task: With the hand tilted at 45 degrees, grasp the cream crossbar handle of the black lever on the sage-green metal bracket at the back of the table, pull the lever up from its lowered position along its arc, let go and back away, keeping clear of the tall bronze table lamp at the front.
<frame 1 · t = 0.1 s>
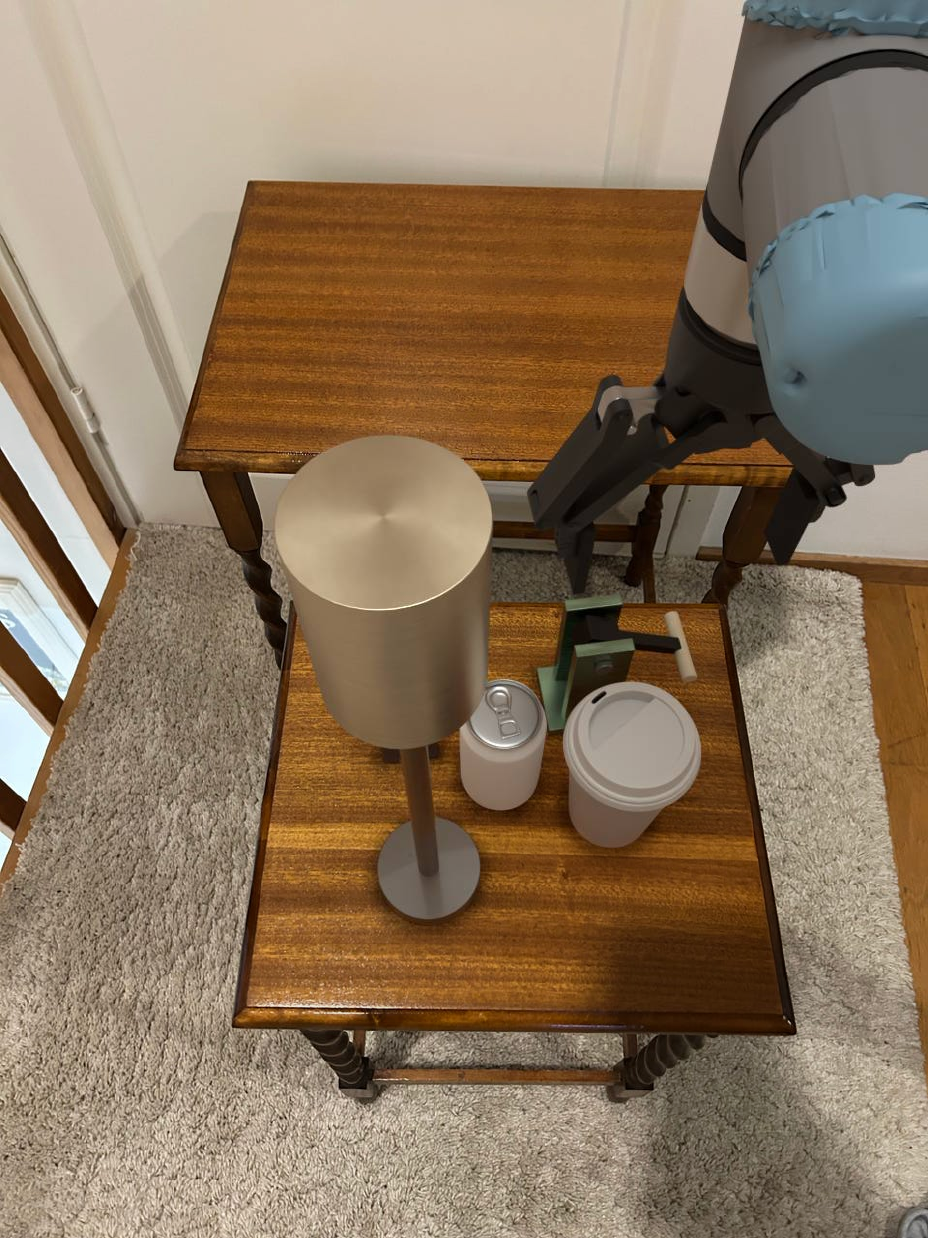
hand: (675, 562, 61), 23 cm above the table, tool pointing down, fingers open, 13 cm apart
coffee cup: (608, 809, 76), on the table
bracket: (581, 699, 81), on the table
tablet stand: (408, 719, 81), on the table
lever: (634, 641, 73), point 9 cm above the table, hinge at -25.0°
can: (499, 776, 78), on the table
lamp: (429, 873, 73), on the table
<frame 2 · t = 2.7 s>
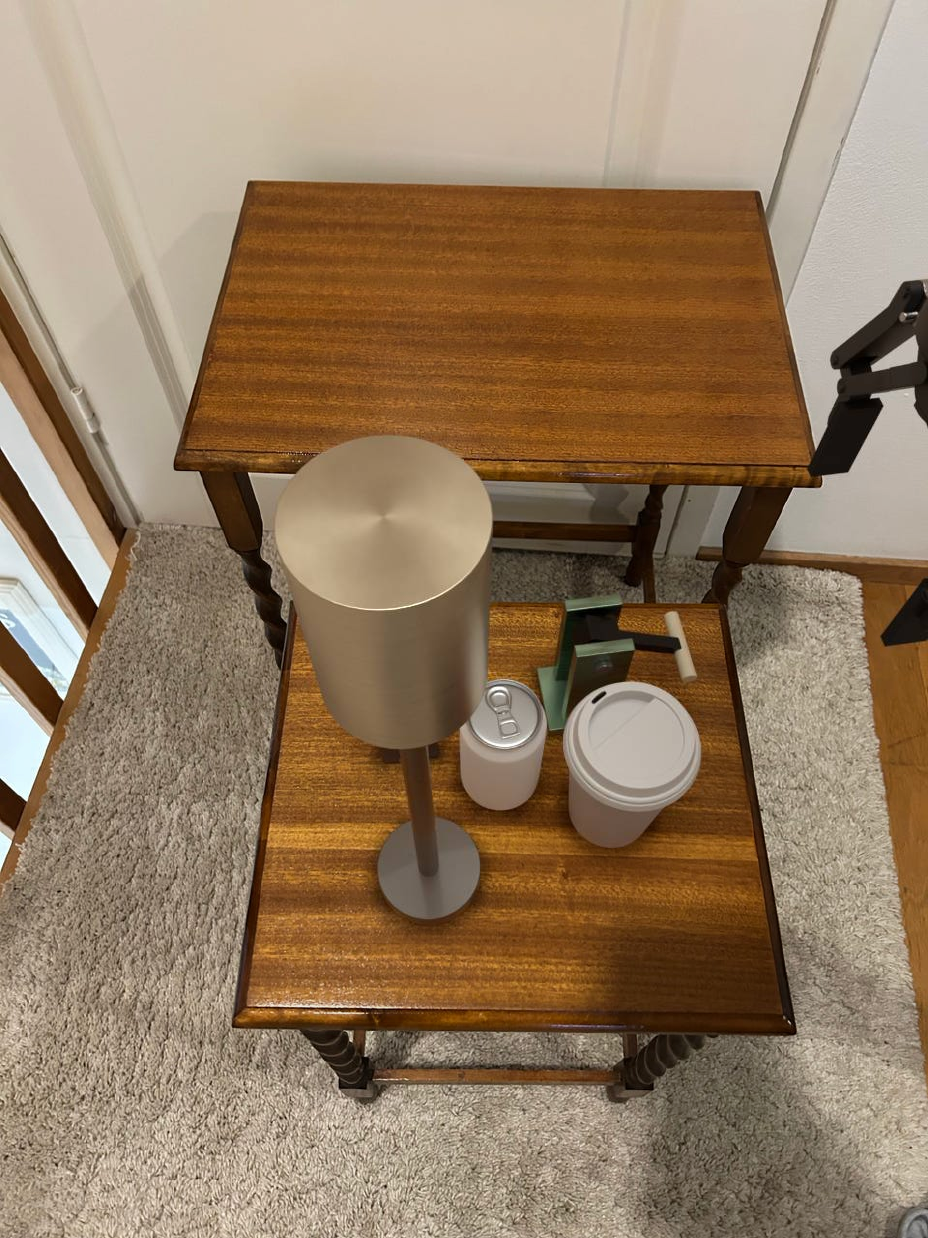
hand: (863, 550, 61), 23 cm above the table, tool pointing down, fingers open, 13 cm apart
nothing on the table moved.
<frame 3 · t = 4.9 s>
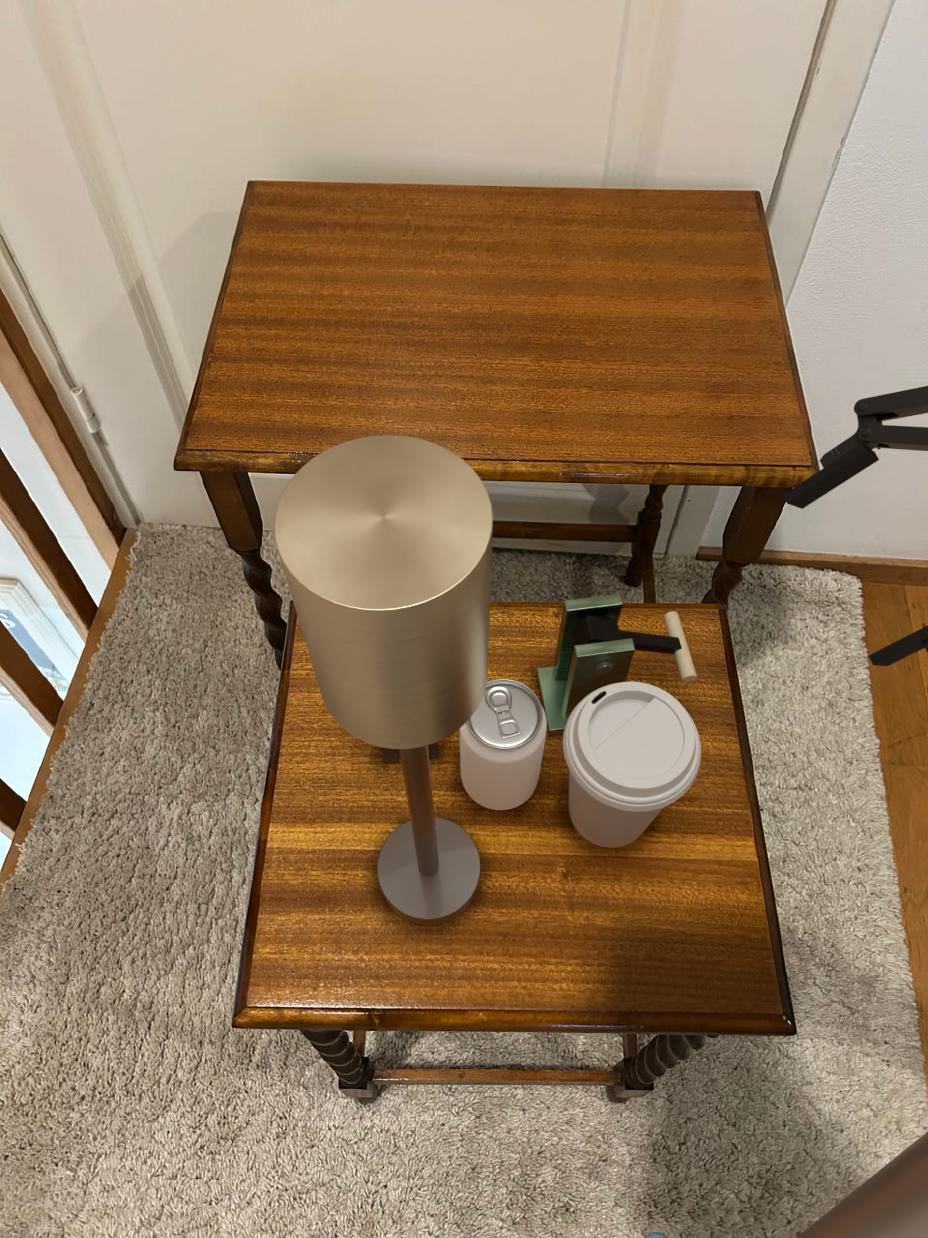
hand: (832, 579, 69), 16 cm above the table, tool tilted 40°, fingers open, 13 cm apart
nothing on the table moved.
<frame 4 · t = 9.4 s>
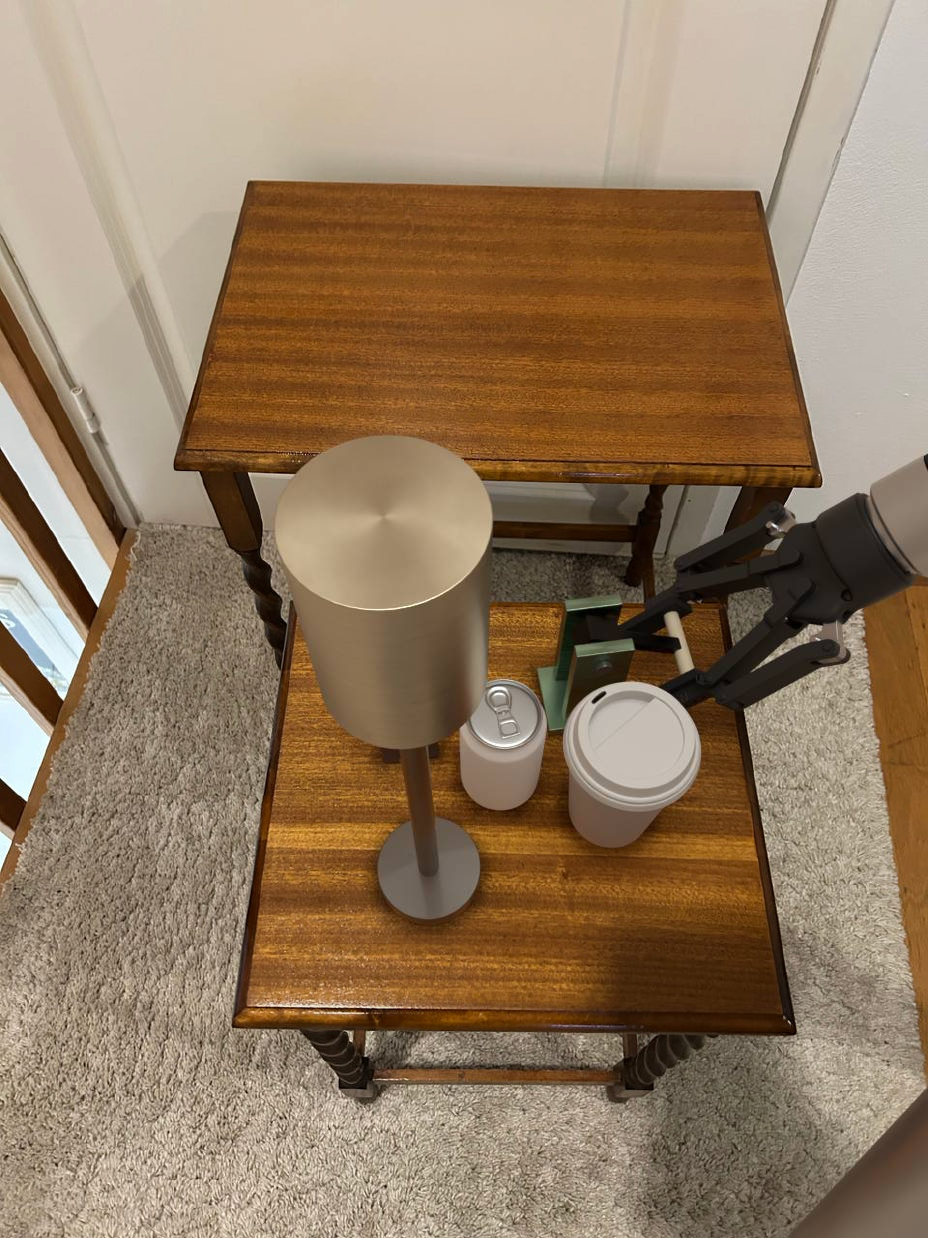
hand: (629, 673, 78), 4 cm above the table, tool tilted 45°, fingers closed on lever, 6 cm apart
lever: (634, 641, 73), point 9 cm above the table, hinge at -25.0°, touching gripper
everything else where it was.
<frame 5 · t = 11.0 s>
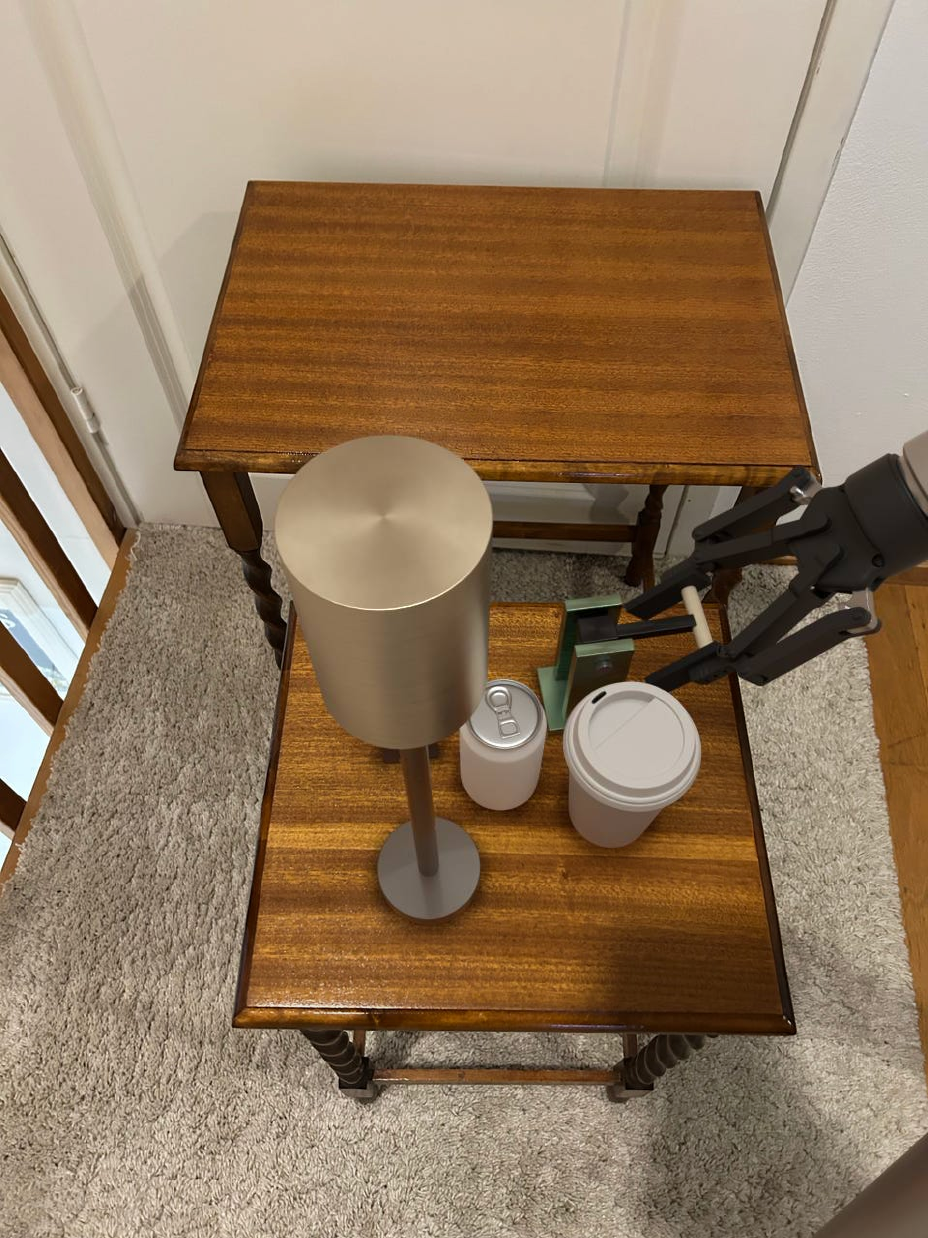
hand: (645, 648, 75), 8 cm above the table, tool tilted 45°, fingers closed on lever, 6 cm apart
lever: (642, 630, 72), point 11 cm above the table, hinge at 1.8°, touching gripper
everything else where it was.
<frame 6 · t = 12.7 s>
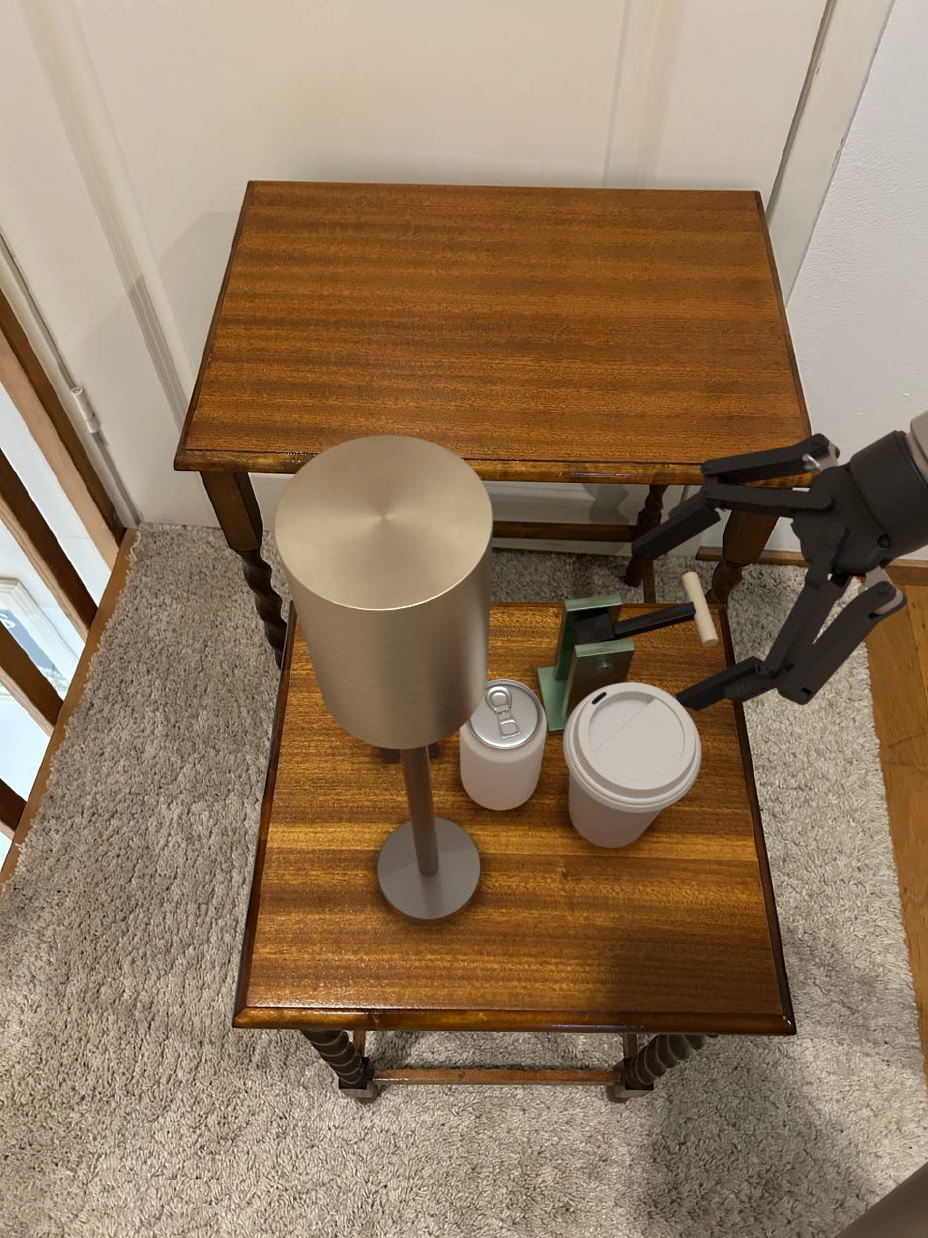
hand: (662, 624, 72), 12 cm above the table, tool tilted 45°, fingers open, 13 cm apart
coffee cup: (608, 809, 76), on the table, touching gripper
lever: (642, 624, 71), point 12 cm above the table, hinge at 16.6°
everything else where it was.
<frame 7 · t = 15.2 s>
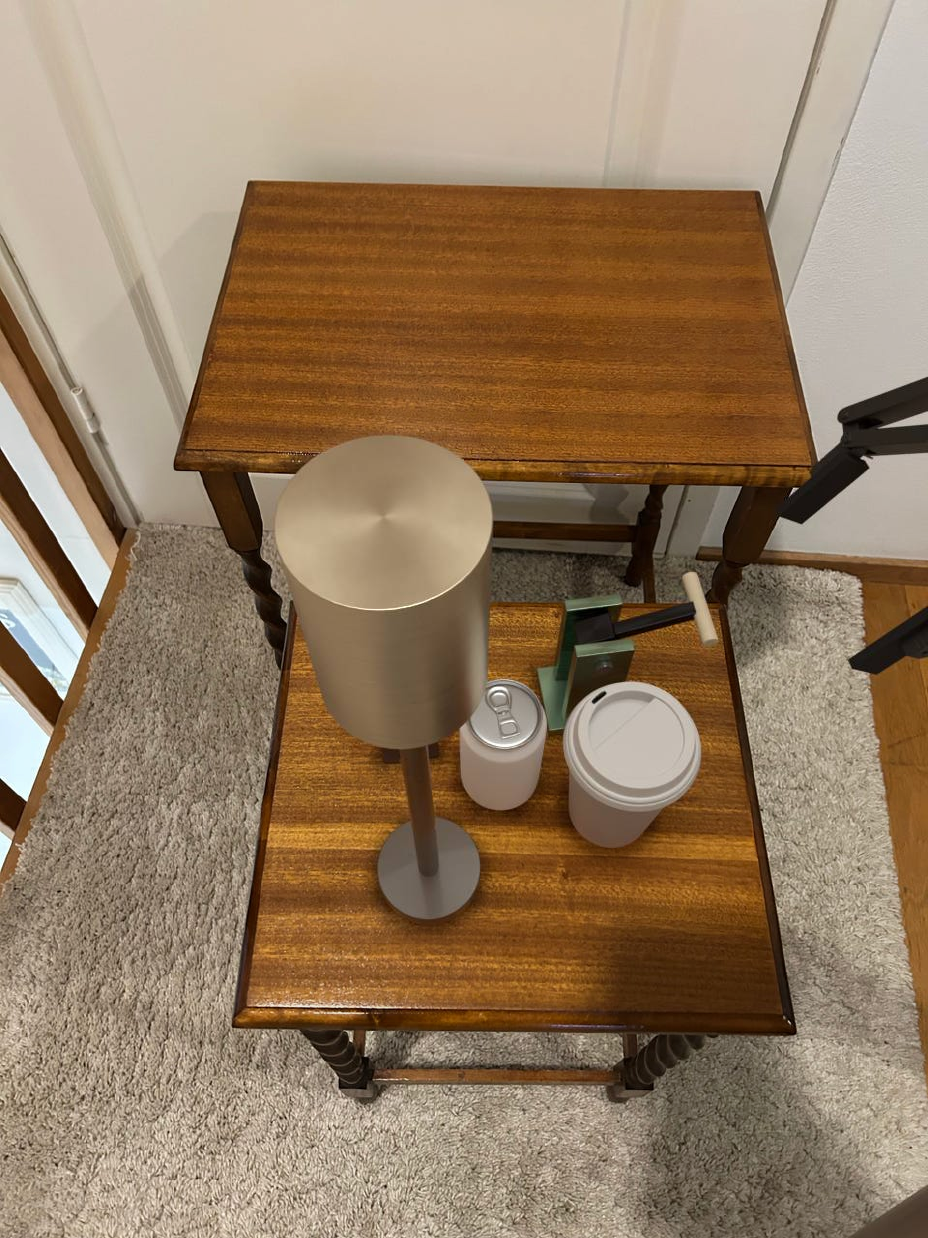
hand: (822, 588, 67), 17 cm above the table, tool tilted 35°, fingers open, 13 cm apart
coffee cup: (608, 809, 76), on the table
everything else where it was.
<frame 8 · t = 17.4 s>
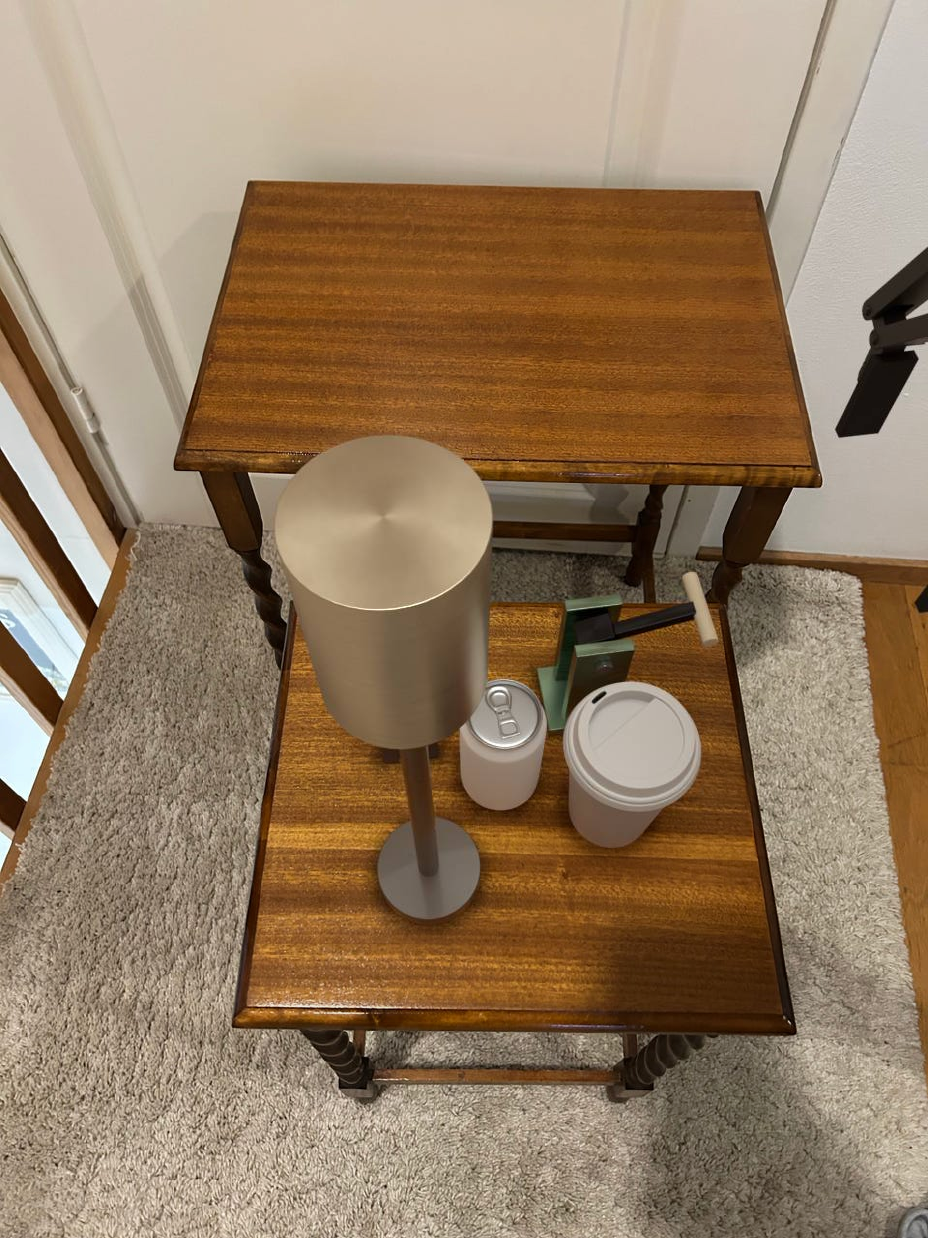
hand: (894, 513, 58), 27 cm above the table, tool pointing down, fingers open, 13 cm apart
nothing on the table moved.
at the end: lever at +17° (first picture: -25°); lamp touching nothing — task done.
